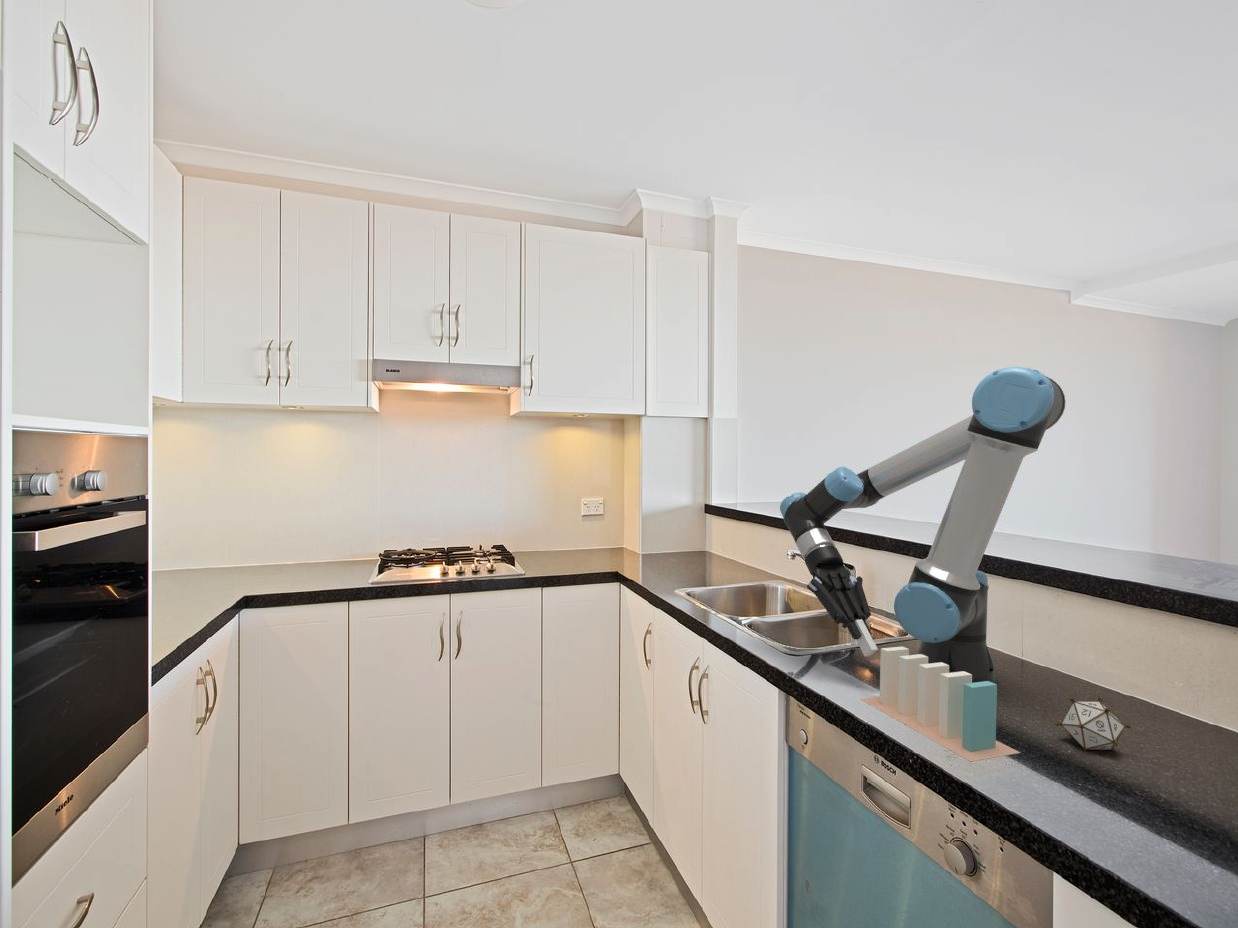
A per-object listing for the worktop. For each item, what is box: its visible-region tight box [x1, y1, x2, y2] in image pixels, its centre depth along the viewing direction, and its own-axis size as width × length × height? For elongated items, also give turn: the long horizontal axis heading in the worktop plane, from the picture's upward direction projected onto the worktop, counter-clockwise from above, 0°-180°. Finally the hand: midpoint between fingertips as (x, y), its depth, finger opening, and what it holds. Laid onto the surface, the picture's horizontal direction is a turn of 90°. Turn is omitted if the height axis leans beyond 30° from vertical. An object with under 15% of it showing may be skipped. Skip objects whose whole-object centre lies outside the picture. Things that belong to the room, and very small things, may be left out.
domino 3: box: [917, 662, 949, 727], centre depth 102 cm, size 2×5×10 cm, turn 108°
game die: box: [1054, 696, 1133, 753], centre depth 95 cm, size 9×8×10 cm
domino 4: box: [939, 671, 972, 739], centre depth 98 cm, size 2×5×10 cm, turn 108°
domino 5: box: [962, 681, 998, 752], centre depth 94 cm, size 2×5×10 cm, turn 108°
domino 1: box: [879, 646, 910, 705], centre depth 111 cm, size 2×5×10 cm, turn 108°
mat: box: [860, 695, 1021, 763], centre depth 102 cm, size 24×10×1 cm, turn 18°
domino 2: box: [898, 653, 928, 716], centre depth 106 cm, size 2×5×10 cm, turn 108°
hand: (871, 652), depth 116 cm, fingers closed
